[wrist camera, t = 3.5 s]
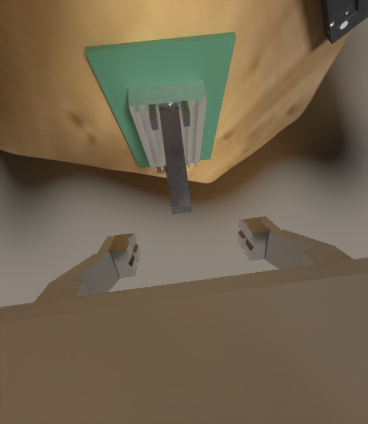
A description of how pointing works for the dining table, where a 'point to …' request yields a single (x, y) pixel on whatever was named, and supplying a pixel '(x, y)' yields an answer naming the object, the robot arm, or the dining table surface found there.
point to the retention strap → (175, 159)
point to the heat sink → (151, 124)
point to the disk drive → (342, 16)
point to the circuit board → (163, 77)
